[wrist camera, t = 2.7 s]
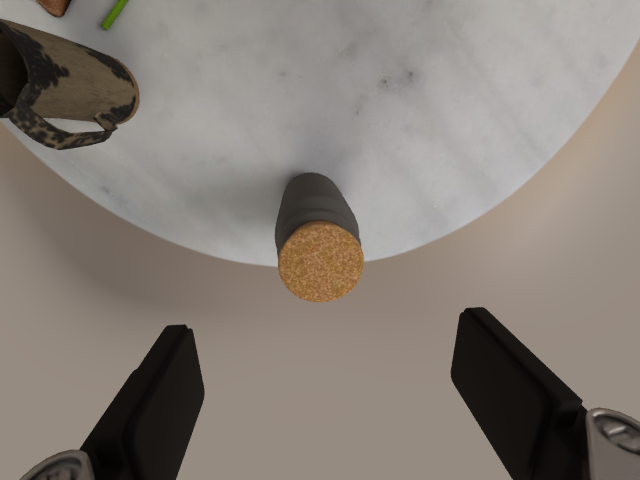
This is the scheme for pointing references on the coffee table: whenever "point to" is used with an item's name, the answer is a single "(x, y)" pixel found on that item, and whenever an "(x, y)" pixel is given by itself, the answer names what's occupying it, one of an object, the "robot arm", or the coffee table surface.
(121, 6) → the decorative flower
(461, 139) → the coffee table surface
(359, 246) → the bottle
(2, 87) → the mug
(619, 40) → the coffee table surface
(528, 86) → the coffee table surface
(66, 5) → the sunglasses case
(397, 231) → the coffee table surface
